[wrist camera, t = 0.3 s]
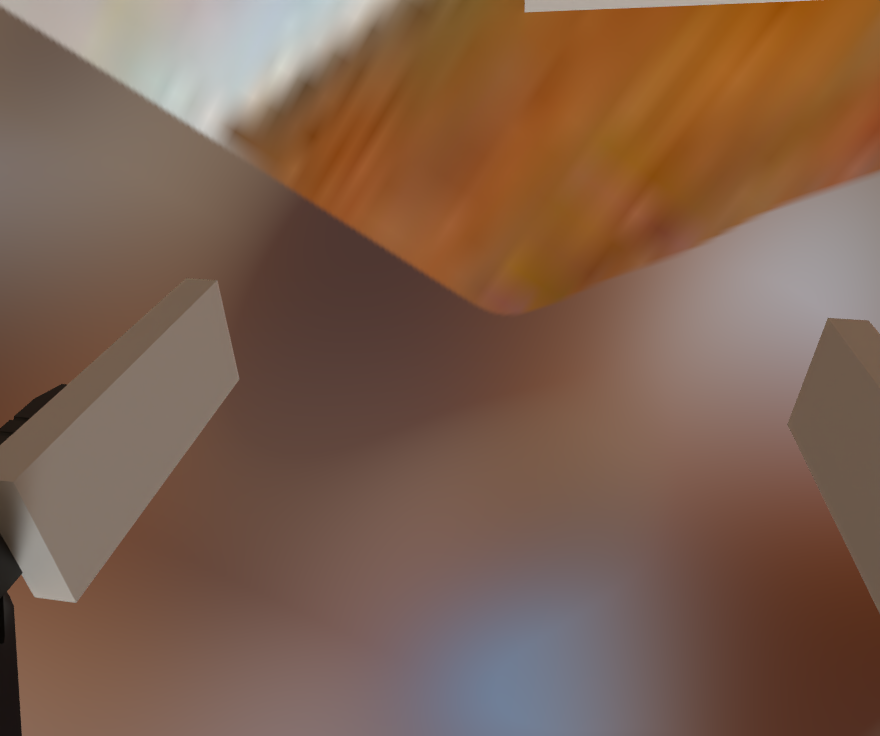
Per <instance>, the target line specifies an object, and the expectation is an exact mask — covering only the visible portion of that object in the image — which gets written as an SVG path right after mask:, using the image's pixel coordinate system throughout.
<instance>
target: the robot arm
mask: <svg viewBox="0 0 880 736" xmlns="http://www.w3.org/2000/svg"><path fill="white" fill-rule="evenodd" d="M238 380H239V375H238V371H237V366H236V362H235V358H234V353H233V349H232V344H231V340H230V335H229V331H228V326H227V322H226V317H225V313H224V308H223V304H222V299H221V295H220V290H219V286H218V281H217V280H204V279H189V278H186V279H185V280H184V281H183V282H182V283H180V284H179V285H178V286H177V287H176V288H175V289H174V290H172V291H171V292H170V293H169V294H168V295H167V296H166V297H165V298H164V299H162V300H161V301H160V302H159V303H158V304H157V305H156V306H155V307H154V308H152V309H151V310H150V311H149V312H148V313H147V314H146V315H145V316H143V318H141V319H140V320H139V321H138V322H137V323H136V324H135V325H133V326H132V327H131V328H130V329H129V330H128V331H127V332H126V333H125V334H123V335H122V336H121V337H120V338H119V339H118V340H117V341H116V342H115V343H113V344H112V345H111V346H110V347H109V348H108V349H107V350H106V351H105V352H103V353H102V354H101V355H100V356H99V357H98V358H97V359H96V360H95V361H93V362H92V363H91V364H90V365H89V366H88V367H87V368H86V369H85V370H83V371H82V372H81V373H80V374H79V375H78V376H77V377H76V378H75V379H73V380H72V381H71V382H70V383H69V384H68V385H66V384H61V385H59V386H57V387H55V388H54V389H52V390H50V391H48V392H46V393H44V394H42V395H40V396H39V397H37V398H35V399H33V400H32V401H31V402H30V403H29V404H28V405H27V406H25V407H24V408H23V409H22V410H21V411H20V412H18V413H17V414H16V415H15V416H14V420H9V421H8V422H7V423H6V424H5V425H4V426H2V427H1V428H0V736H22V733H21V717H20V701H19V684H18V668H17V652H16V636H15V619H14V605H13V603H12V601H11V599H10V596H9V595H8V593H7V590H8V589H9V588H10V587H11V586H12V585H13V583H14V582H15V581H16V580H17V579H18V577H19V576H20V575H21V574H22V576H23V578H24V579H25V581H26V583H27V585H28V586H29V588H30V590H31V592H32V593H33V595H34V597H38V598H45V599H52V600H60V601H67V602H75V603H76V602H77V601H78V599H79V598H80V597H81V595H82V594H83V593H84V591H85V590H86V589H87V587H88V586H89V584H90V583H91V582H92V580H93V579H94V578H95V576H96V575H97V573H98V572H99V571H100V569H101V568H102V567H103V565H104V564H105V563H106V561H107V560H108V558H109V557H110V556H111V554H112V553H113V552H114V550H115V549H116V548H117V546H118V545H119V543H120V542H121V541H122V539H123V538H124V537H125V535H126V534H127V532H128V531H129V530H130V528H131V527H132V526H133V524H134V523H135V521H136V520H137V519H138V517H139V516H140V515H141V513H142V512H143V511H144V509H145V508H146V506H147V505H148V504H149V502H150V501H151V500H152V498H153V497H154V495H155V494H156V493H157V491H158V490H159V488H160V487H161V486H162V484H163V483H164V482H165V480H166V479H167V478H168V476H169V475H170V473H171V472H172V471H173V469H174V468H175V467H176V465H177V464H178V463H179V461H180V460H181V458H182V457H183V456H184V454H185V453H186V451H187V450H188V449H189V447H190V446H191V444H192V443H193V442H194V441H195V439H196V438H197V436H198V435H199V434H200V432H201V431H202V430H203V428H204V427H205V425H206V424H207V423H208V421H209V420H210V419H211V417H212V416H213V414H214V413H215V412H216V410H217V409H218V408H219V406H220V405H221V403H222V402H223V401H224V399H225V398H226V397H227V395H228V394H229V393H230V391H231V390H232V388H233V387H234V386H235V384H236V383H237V382H238ZM787 425H788V427H789V429H790V431H791V433H792V435H793V437H794V439H795V441H796V443H797V445H798V447H799V449H800V451H801V453H802V455H803V457H804V459H805V462H806V464H807V465H808V468H809V470H810V472H811V474H812V476H813V478H814V480H815V482H816V484H817V486H818V488H819V490H820V492H821V494H822V496H823V498H824V500H825V502H826V504H827V507H828V508H829V511H830V513H831V515H832V517H833V519H834V521H835V523H836V525H837V527H838V529H839V531H840V533H841V535H842V537H843V539H844V541H845V543H846V545H847V547H848V549H849V551H850V554H851V555H852V558H853V560H854V562H855V564H856V566H857V568H858V570H859V572H860V574H861V576H862V578H863V580H864V582H865V584H866V586H867V588H868V590H869V592H870V594H871V597H872V599H873V600H874V603H875V605H876V607H877V609H878V611H879V613H880V334H879V333H878V331H877V330H876V329H875V328H874V327H873V325H872V324H871V323H870V322H869V321H867V320H851V319H834V318H828V319H827V322H826V325H825V327H824V330H823V332H822V335H821V337H820V340H819V343H818V345H817V348H816V351H815V353H814V356H813V358H812V361H811V364H810V366H809V369H808V372H807V374H806V377H805V379H804V382H803V385H802V388H801V390H800V393H799V396H798V398H797V401H796V403H795V406H794V408H793V411H792V414H791V417H790V419H789V422H788V424H787Z"/></svg>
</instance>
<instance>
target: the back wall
mask: <svg viewBox="0 0 880 736" xmlns="http://www.w3.org/2000/svg"><path fill="white" fill-rule="evenodd" d="M784 1H808V0H525V12H541V11H566V10H590V9H614V8H638V7H663V6H687V5H711V4H735V3H760V2H784Z"/></svg>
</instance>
